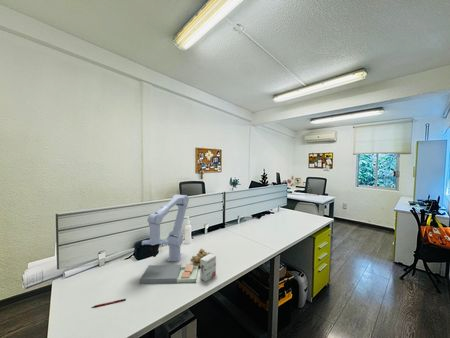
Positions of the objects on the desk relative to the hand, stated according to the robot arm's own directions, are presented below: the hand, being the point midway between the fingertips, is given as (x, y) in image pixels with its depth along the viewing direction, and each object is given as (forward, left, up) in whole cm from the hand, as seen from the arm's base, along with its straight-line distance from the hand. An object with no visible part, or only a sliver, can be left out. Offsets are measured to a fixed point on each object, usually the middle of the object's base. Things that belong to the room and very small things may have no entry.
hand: (154, 256), depth 105 cm
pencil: (+23, -14, -11) cm, 28 cm away
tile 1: (0, +20, -8) cm, 22 cm away
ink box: (+4, +32, -11) cm, 34 cm away
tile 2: (+6, +19, -9) cm, 22 cm away
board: (+3, +5, -10) cm, 12 cm away
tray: (+3, +20, -10) cm, 23 cm away
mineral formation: (-8, +29, -11) cm, 32 cm away
